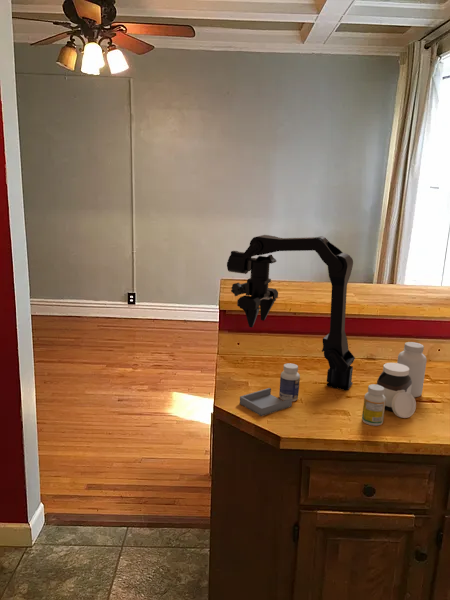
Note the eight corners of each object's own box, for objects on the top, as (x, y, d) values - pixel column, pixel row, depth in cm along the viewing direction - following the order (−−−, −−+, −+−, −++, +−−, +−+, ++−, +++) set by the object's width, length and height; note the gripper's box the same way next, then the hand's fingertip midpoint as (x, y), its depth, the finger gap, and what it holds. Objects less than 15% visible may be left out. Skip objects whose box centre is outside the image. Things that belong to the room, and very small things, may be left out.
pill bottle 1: (297, 403, 150) (300, 370, 147) (278, 400, 151) (280, 368, 148) (298, 395, 155) (301, 363, 152) (280, 393, 156) (282, 361, 153)
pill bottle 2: (423, 390, 162) (429, 343, 158) (420, 400, 155) (427, 350, 151) (395, 385, 165) (401, 338, 162) (391, 394, 158) (398, 346, 154)
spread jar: (388, 397, 156) (392, 359, 153) (425, 410, 149) (430, 370, 146) (366, 408, 148) (370, 368, 145) (404, 423, 140) (409, 381, 137)
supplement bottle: (377, 428, 137) (381, 393, 134) (358, 421, 140) (361, 387, 138) (386, 421, 141) (390, 387, 139) (367, 414, 144) (371, 381, 142)
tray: (269, 394, 154) (269, 387, 154) (291, 406, 147) (292, 399, 147) (239, 403, 147) (239, 396, 147) (261, 416, 141) (261, 408, 140)
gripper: (249, 268, 180) (246, 313, 183) (222, 277, 163) (220, 326, 167) (280, 272, 175) (277, 318, 178) (256, 282, 159) (253, 332, 162)
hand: (256, 323), depth 172 cm, fingers open, 9 cm apart
